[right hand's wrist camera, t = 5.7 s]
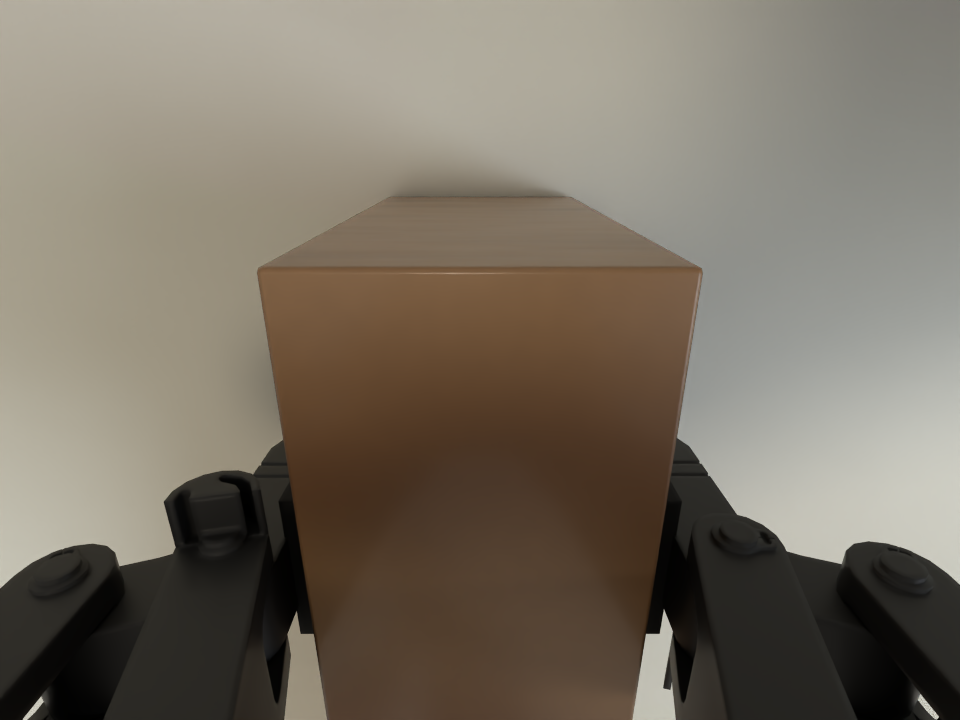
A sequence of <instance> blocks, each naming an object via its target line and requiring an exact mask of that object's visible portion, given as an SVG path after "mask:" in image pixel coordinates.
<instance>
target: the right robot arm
mask: <svg viewBox="0 0 960 720" xmlns="http://www.w3.org/2000/svg"><path fill="white" fill-rule="evenodd" d="M164 505H165V508H166V512H167V516H168V520H169V524H170V527H171V531H172V535H173V539H174V542H175V546H176V548H175V550H174V553H173V554H171V555H168V556H164V557H161V558H156V559H152V560H147V561H142V562H138V563H133V564H129V565H124V566H119V564H118V561H117V557H116V554H115V552H113V551H112V550H111V549H110V548H109V547H108V546H103V545H97V544H86V545H78V546H72V547H69V548H64V549H63V550H62V549H61V550H58V551H56V552H53V553H51V554H49V555H47V556H45V557H43V558H41V559H39V560H37V561H35V562H33V563H31V564H30V565H28V566H27V567H26V568H24V569H23V570H22V571H20V572H19V573H17V574H16V575H15V576H14V577H12V578H11V579H10V580H9V581H8V582H7V583H6V584H5V585H4V586H3V587H1V588H0V720H23V718H24V717H25V715H26V714H27V713H28V712H29V710H30V709H31V708H32V707H33V706H34V704H35V703H36V702H37V701H38V699H39V698H40V697H42V699H43V701H44V702H43V703H42V705H41V706H40V707H39V708H38V710H37V711H36V712H35V713H34V714H33V715H32V716H31V717H30V718H29V719H28V720H284V716H285V706H286V697H287V687H288V678H289V668H290V658H291V654H290V647H289V641H288V635H287V634H288V631H289V629H290V626H291V624H292V621H293V619H294V616H295V613H296V611H297V614H298V620H299V626H300V632H301V634H314V631H313V625H312V619H311V612H310V606H309V600H308V593H307V587H306V580H305V574H304V568H303V561H302V555H301V549H300V542H299V536H298V529H297V523H296V517H295V510H294V504H293V498H292V491H291V485H290V479H289V472H288V466H287V459H286V453H285V447H284V440H283V441H281V442H280V443H278V444H277V445H275V446H274V447H272V448H271V450H270V451H269V452H268V454H267V455H266V457H265V458H264V460H263V461H262V463H261V466H259V467H258V468H257V470H256V471H255V473H254V474H253V475H252V474H250V473H246V472H242V471H220V472H215V473H210V474H206V475H202V476H200V477H198V478H195V479H193V480H190V481H188V482H186V483H184V484H183V485H181V486H180V487H178V488H177V489H175V490H174V491H172V493H171V494H170V495H169V496H168V497H167V499H166V500H165V501H164ZM664 610H665V612H666V615H667V617H668V620H669V622H670V625H671V627H672V630H673V635H672V641H671V646H670V652H669V657H668V663H667V668H666V674H665V680H664V687H663V688H664V689H669V690H670V689H671V683H672V686H673V695H674V705H675V715H676V720H936V719H934V718H933V717H932V716H931V715H930V714H929V713H928V712H927V711H926V710H925V709H924V707H923V706H922V705H921V704H920V702H919V701H918V698H919V695H920V694H921V695H922V696H923V697H924V699H925V700H926V701H927V702H928V703H929V705H930V706H931V707H932V708H933V710H934V711H935V712H936V713H937V715H938V716H939V718H938V719H937V720H960V585H959V584H958V583H957V582H956V581H955V580H954V579H953V578H952V577H951V576H949V575H948V574H947V573H946V572H944V571H943V570H942V569H940V568H939V567H938V566H936V565H935V564H933V563H932V562H931V561H929V560H927V559H925V558H923V557H921V556H919V555H917V554H915V553H913V552H911V551H909V550H907V549H904V548H901V547H897V546H894V545H890V544H886V543H877V542H869V541H868V542H862V543H856V544H853V545H852V546H851V547H850V548H849V549H847V550H846V553H845V556H844V559H843V562H842V564H838V563H833V562H829V561H824V560H819V559H815V558H810V557H805V556H801V555H797V554H794V553H790V552H787V551H786V549H785V547H784V546H783V544H782V543H781V541H780V540H779V538H778V537H777V536H776V535H775V534H774V533H773V532H771V531H770V530H769V529H767V528H766V527H765V526H763V525H762V524H760V523H758V522H755V521H753V520H751V519H749V518H747V517H743V516H739V515H737V514H736V513H735V511H734V510H733V508H732V507H731V506H730V504H729V503H728V501H727V500H726V498H725V497H724V496H723V494H722V493H721V491H720V490H719V488H718V487H717V486H716V484H715V483H714V481H713V480H712V478H711V477H710V476H708V473H707V471H706V470H705V468H704V467H703V465H702V464H699V460H698V458H697V457H696V455H695V454H694V453H693V451H692V450H691V448H690V447H689V446H688V445H686V444H685V443H683V442H682V441H680V440H679V439H678V438H677V439H676V445H675V452H674V458H673V464H672V471H671V477H670V483H669V490H668V496H667V502H666V509H665V515H664V522H663V528H662V534H661V541H660V547H659V553H658V560H657V566H656V572H655V579H654V585H653V591H652V598H651V604H650V610H649V617H648V623H647V629H646V634H660V628H661V622H662V616H663V611H664Z"/></svg>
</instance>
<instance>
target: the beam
mask: <svg viewBox="0 0 960 720" xmlns="http://www.w3.org/2000/svg"><path fill="white" fill-rule="evenodd" d="M702 274H703V272H702V268H700V267H698V266H696V265H694V264H693V263H691V262H689V261H687V260H685V259H683V258H682V257H680V256H678V255H676V254H674V253H672V252H671V251H669V250H667V249H665V248H663V247H661V246H660V245H658V244H656V243H654V242H652V241H650V240H649V239H647V238H645V237H643V236H641V235H639V234H638V233H636V232H634V231H632V230H630V229H629V228H627V227H625V226H623V225H621V224H619V223H618V222H616V221H614V220H612V219H610V218H608V217H607V216H605V215H603V214H601V213H599V212H597V211H596V210H594V209H592V208H590V207H588V206H586V205H585V204H583V203H581V202H579V201H577V200H575V199H574V198H572V197H389V198H387V199H385V200H383V201H381V202H380V203H378V204H376V205H374V206H372V207H370V208H368V209H367V210H365V211H363V212H361V213H359V214H357V215H356V216H354V217H352V218H350V219H348V220H346V221H344V222H343V223H341V224H339V225H337V226H335V227H333V228H332V229H330V230H328V231H326V232H324V233H322V234H320V235H319V236H317V237H315V238H313V239H311V240H309V241H308V242H306V243H304V244H302V245H300V246H298V247H296V248H295V249H293V250H291V251H289V252H287V253H285V254H284V255H282V256H280V257H278V258H276V259H274V260H272V261H271V262H269V263H267V264H265V265H263V266H261V267H259V268H258V271H257V275H258V281H259V287H260V294H261V300H262V307H263V313H264V319H265V326H266V332H267V338H268V345H269V351H270V358H271V364H272V370H273V377H274V383H275V389H276V396H277V402H278V408H279V415H280V421H281V428H282V434H283V440H284V447H285V453H286V459H287V466H288V472H289V479H290V485H291V491H292V498H293V504H294V510H295V517H296V523H297V529H298V536H299V542H300V549H301V555H302V561H303V568H304V574H305V580H306V587H307V593H308V600H309V606H310V612H311V619H312V625H313V631H314V638H315V644H316V650H317V657H318V663H319V670H320V676H321V682H322V689H323V695H324V701H325V708H326V714H327V720H632V718H633V712H634V705H635V699H636V693H637V686H638V680H639V674H640V667H641V661H642V655H643V648H644V642H645V636H646V629H647V623H648V617H649V610H650V604H651V598H652V591H653V585H654V579H655V572H656V566H657V560H658V553H659V547H660V541H661V534H662V528H663V522H664V515H665V509H666V502H667V496H668V490H669V483H670V477H671V471H672V464H673V458H674V452H675V445H676V439H677V433H678V426H679V420H680V414H681V407H682V401H683V395H684V388H685V382H686V376H687V369H688V363H689V357H690V350H691V344H692V338H693V331H694V325H695V319H696V312H697V306H698V300H699V293H700V287H701V281H702Z"/></svg>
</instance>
